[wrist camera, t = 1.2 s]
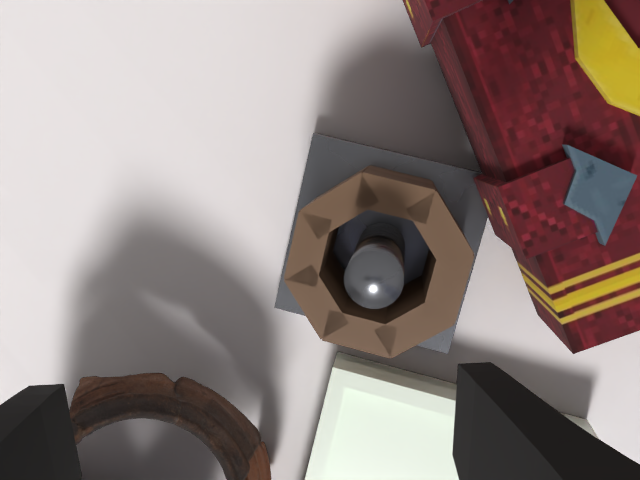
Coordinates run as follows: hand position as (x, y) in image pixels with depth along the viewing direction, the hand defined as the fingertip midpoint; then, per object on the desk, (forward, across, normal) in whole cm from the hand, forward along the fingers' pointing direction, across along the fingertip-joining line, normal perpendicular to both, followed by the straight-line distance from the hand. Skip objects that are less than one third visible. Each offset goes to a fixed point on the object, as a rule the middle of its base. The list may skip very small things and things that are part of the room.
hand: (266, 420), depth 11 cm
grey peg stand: (+11, -4, +1) cm, 11 cm away
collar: (+10, -4, +1) cm, 11 cm away
